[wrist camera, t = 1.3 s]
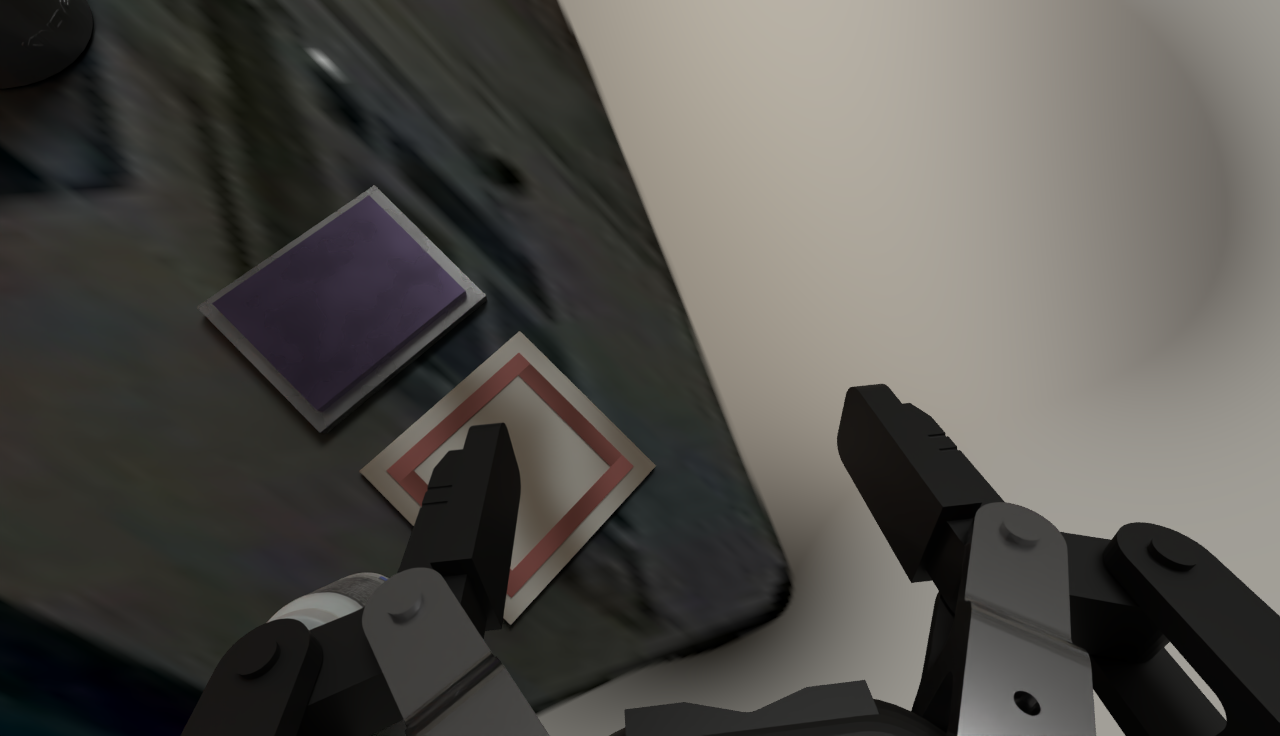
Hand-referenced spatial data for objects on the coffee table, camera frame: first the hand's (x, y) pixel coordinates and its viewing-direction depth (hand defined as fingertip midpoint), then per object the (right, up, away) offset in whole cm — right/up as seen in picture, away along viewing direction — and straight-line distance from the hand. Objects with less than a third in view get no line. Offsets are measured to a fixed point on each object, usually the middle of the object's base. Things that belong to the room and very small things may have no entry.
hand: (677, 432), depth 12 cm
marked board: (-8, -4, +18) cm, 21 cm away
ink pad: (-18, +5, +19) cm, 27 cm away
